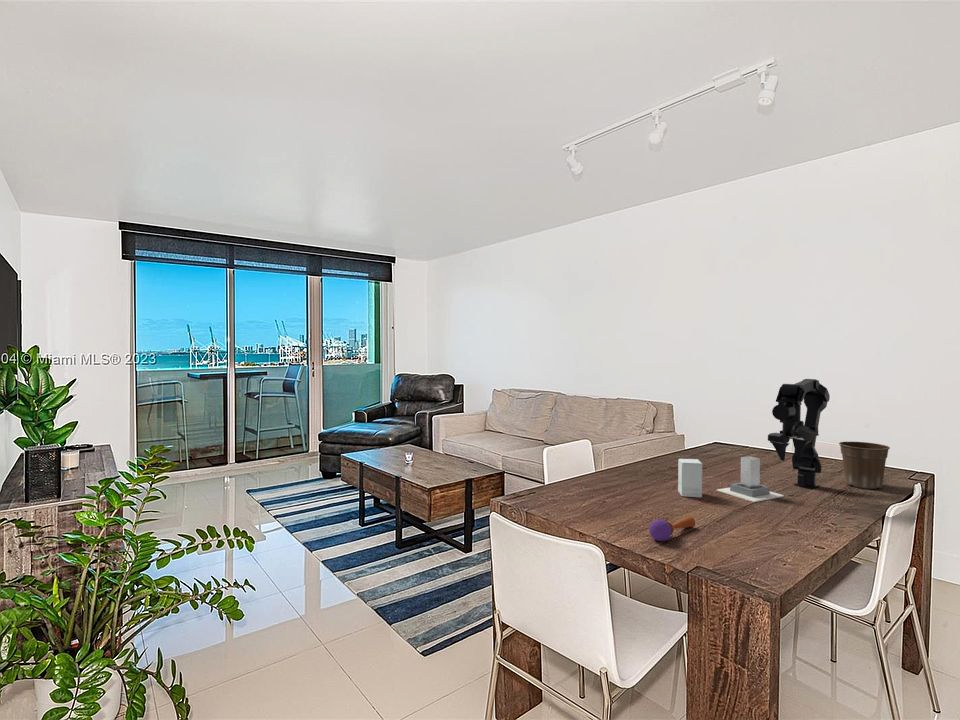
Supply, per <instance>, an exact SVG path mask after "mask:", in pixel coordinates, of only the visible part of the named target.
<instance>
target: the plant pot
mask: <svg viewBox="0 0 960 720" xmlns="http://www.w3.org/2000/svg"><path fill="white" fill-rule="evenodd" d="M838 445H839V447H840V454H842V466H843V477H844V484H846V485H847V486H853V487H855V488H859V489H865V490H866V489H867V490H877V489H882V488H883V485H884V477H885V468H886V461H887V458H888V455H889V450H890V448H891V447H890V446H889V445H885V444H880V443H876V442H875V443H874V442H868V441H867V442H865V441H841V442H838Z"/></svg>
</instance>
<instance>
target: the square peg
mask: <svg viewBox="0 0 960 720" xmlns="http://www.w3.org/2000/svg"><path fill="white" fill-rule="evenodd" d="M760 470H761V459H760V458H758V457H754V456H750V455H749V456H741V457H740V482H739V483H740V486H742V487H745V488H749V489H756V488H760V485H761V483H760V481H761V478H760V477H761V476H760V473H761V471H760Z"/></svg>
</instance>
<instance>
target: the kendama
mask: <svg viewBox="0 0 960 720" xmlns="http://www.w3.org/2000/svg"><path fill="white" fill-rule="evenodd" d="M695 526H696V521H695V518H694V517H692V516H685V517H684V518H682V519H680V520H679V521H677V522H675V523H671V522H669V521H666V520H663V519H655V520H653V521H652V522H651V523H650V525H649V527H648V528H649V530H648V531H649V534H650V536H651V538H653V539H654V540H655V541H658V542H661V541H662V542H665V541H667V540H669V539H670V537H671V535H673V533H674V529H675V530H676V529H689V527H690V528H694V527H695Z"/></svg>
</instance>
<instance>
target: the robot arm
mask: <svg viewBox="0 0 960 720" xmlns="http://www.w3.org/2000/svg"><path fill="white" fill-rule="evenodd" d="M830 398H831V397H830V392H829V390H828V388H827V387H825V386H824V385H823V384H821V383H820V380H819V379H816V378H815V379H814V378H805V379H802V380H801V381H798V382H796V383H793V384H792V383H783V384H781V386H780V387H779V390H778V393H777V395H776V399H775V402H776V403H777V404H776V405H774V406H773V408H772V411H771V414H772V416H773V418H775V419H776V420H778V421H779V423H782V430H779V432H771V433H769V434H767V441H768V442H769V443H770V444H772V446H773V447H774V449H775V451H776V453H777V454H778V457H779V459H780V461H785V459H786V453H787V452H786V451H787V447H788V446H790V440H792V444H793V447H794V448H793V449H794V451H793V454H792V456H791V464H792V469H793V470H796V471H797V482H794V483H793V485H794V486H798V487H801V488H802V487H803V488H806V489H815V488H819V487H820V485H819V484H816V480H817V475H816V474H818V473H819V474H821V473H822V464H821V461H820V459H819V453H818V451H817V450H816V441H817V437H819V436H820V434H819V426H820V425H819V423H820V418H821V413H822V412H823V411H824V410H825V409H826V408H827V405H828V403H829V402H830ZM802 402H803V404H804V405H805V407H806V413H805V418H804V420H801V419H802V418H801V417H802V416H801V411H802V410H801V409H802V406H801V405H802Z"/></svg>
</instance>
